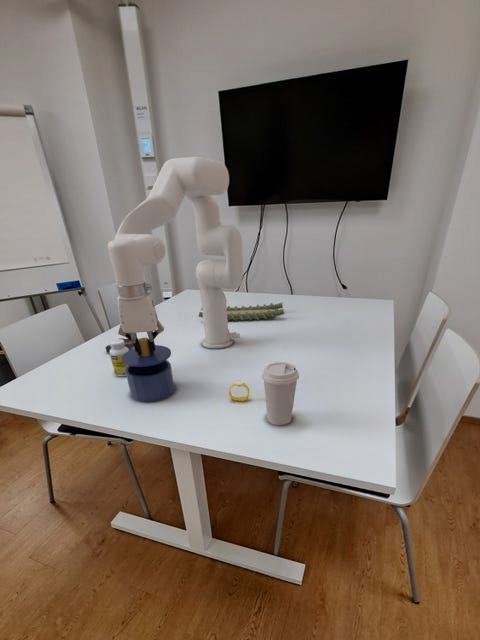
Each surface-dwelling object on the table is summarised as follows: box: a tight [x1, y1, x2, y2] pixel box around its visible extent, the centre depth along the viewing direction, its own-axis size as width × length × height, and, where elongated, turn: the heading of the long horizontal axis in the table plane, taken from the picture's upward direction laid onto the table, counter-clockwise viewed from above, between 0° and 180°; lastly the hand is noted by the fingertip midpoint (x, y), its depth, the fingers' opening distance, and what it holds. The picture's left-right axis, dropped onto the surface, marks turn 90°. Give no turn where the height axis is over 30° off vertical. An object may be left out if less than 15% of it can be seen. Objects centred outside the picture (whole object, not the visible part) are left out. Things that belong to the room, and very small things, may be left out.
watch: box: [228, 379, 250, 402], centre depth 105 cm, size 6×3×6 cm, turn 85°
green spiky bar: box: [198, 302, 285, 322], centre depth 172 cm, size 41×14×5 cm, turn 88°
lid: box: [122, 337, 172, 367], centre depth 106 cm, size 15×15×6 cm
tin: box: [125, 359, 175, 403], centre depth 112 cm, size 14×14×8 cm
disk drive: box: [105, 337, 135, 354], centre depth 144 cm, size 10×3×15 cm
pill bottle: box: [109, 338, 129, 377], centre depth 123 cm, size 6×6×12 cm
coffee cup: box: [260, 361, 300, 426], centre depth 93 cm, size 10×10×15 cm
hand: (146, 352), depth 107 cm, fingers closed on lid, 3 cm apart
